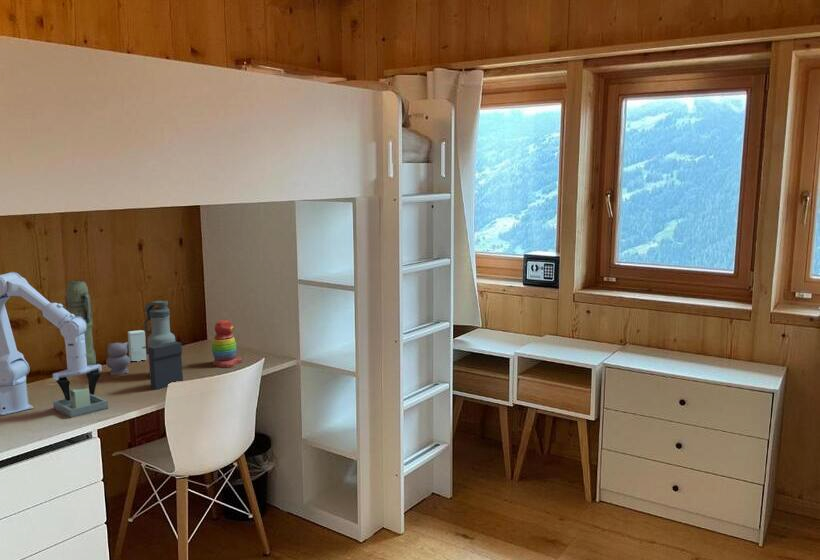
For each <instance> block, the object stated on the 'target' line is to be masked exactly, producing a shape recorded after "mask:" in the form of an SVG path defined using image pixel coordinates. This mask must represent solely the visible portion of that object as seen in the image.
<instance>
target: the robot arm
mask: <svg viewBox="0 0 820 560" xmlns="http://www.w3.org/2000/svg"><path fill="white" fill-rule="evenodd" d="M11 297H21V298H23V300H25V301H27V302H28V303H30V304H31V305H33V306H34V307H36V308H37V309H39V310H40V311H41V312H42V317H43V318H44V319H46V320H47V321H48V322H49V323H51V324H53V325H54V326H55V327H56V328H57V329H59V333H60V334H61V335H62V337H63V340H64V344H65V354H66V355H65V356H66V367H67V368H66V369H64V370H62V371H61V370H60V371H58V372H54V373H53V372H52V380H54V381H55V382H56V383H57V385H59V386H58V387H60V389H61V391H62V393H63V395H64V399H65V400H67V401H68V400H70V392H69V389H70V384H71V383H70V382H71V381H70V380H68V378H71V377H76V376H80V375H85V374H86V376H87V382H88V388H89V393H90V394H92V395H95V393H96V392H95V391H96V387H97V383H98V380H99V378H100V377H101V372H102V370H103V369H102V368H103V367H102V364H100V363H97V364H96V365H89V366H87V358H86V346H85V335H84V332H85V331H86V330H87V323H86V321H85V320H84V319H83V318H82V317H75V315H74V314H71V313H69V312H68V311H67V309H66V308H65V307H64V305H63V304H62V303H57V302H50V301H49V300H48V299H47V298H45V297H44V296H43V295H42V294H41V293H39V291H37V289H35V288H34V287H33V286H32V285H31V284H30V283H29V282H28V281H27V279H26V278H25V277H24V276H21V275H20V274H19V273H17V272H15V271H10V272H8V273H3V274H0V416H4V415H5V416H6V415H10V414H13V413H17V412H22V411H27V410H30V409H34V406H33V405H31V404H29V397H28V388H27V387H28V386H27V376H28V375H29V373H30V371H31V370H30V365H29V363H28V361H27V360H26V359H25V356H24V353H22V352H20V351H19V350H18V349H17V344H16V341H15V337H14V334H13V330H12V327H11V323H10V319H9V316H8V312H7V309H6V303H7V301H8V300H9V299H10V298H11Z"/></svg>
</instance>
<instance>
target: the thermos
mask: <svg viewBox="0 0 820 560" xmlns="http://www.w3.org/2000/svg"><path fill="white" fill-rule="evenodd" d="M65 288H66V289H65V297H64V298H65V300H64V301H65V309H66V310H67V311H68V312H69V313H71V314H74V315H75V317H82V318H83V319H84V320H85V321H86V323H87V330H86V331H85V332H84V335H85V346H86V358H87V366H89V365H96V363H97V357H96V351H95V349H94V340H93V339H94V338H93V328H92V327H93V313H92V303H91V302H92V300H91V296H90V294H89V288H88V286H87V284H86V281H84V280H81V279H80V280H79V279H78V280H71V281H69V282H67V285H66V287H65Z"/></svg>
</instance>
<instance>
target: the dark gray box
mask: <svg viewBox="0 0 820 560" xmlns="http://www.w3.org/2000/svg"><path fill="white" fill-rule="evenodd" d="M182 345H183V344H182V342H179V341H176V340H175V342H170V343H165V344H160V345H156V346H151V347H149V348H148V347H147V352H148V351H149V354H148V365H149V364H150V368H149V377H150V387H151V389H153V390H160V389H164V388H168V387H167V385H168V384H169V383H171V382H176V381H183V382H184V377H183V376H184V375H183V374H184V373H183V363H182V359H183V358H182V354H183V348H182V347H183V346H182Z"/></svg>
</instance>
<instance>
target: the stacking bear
mask: <svg viewBox="0 0 820 560" xmlns="http://www.w3.org/2000/svg"><path fill="white" fill-rule="evenodd" d="M234 328H235V327H234V325H233V323H231V322H230V321H229V320H227V319H226V318H224V319H222V320H218V321H217V322H216V323H215V325H214V331H215V333H216V334H215V335H214V337H213V338H212V345H211V352H212V355H213V358H214V360H213V363H212V364H213V366H215V367H217V368H226V369H227V368H228V369H229V368H232V367H234V366H235V365H237V364H240V363H242V362H243V359H242V357H239V356H236V355H237V354H236V353H237V343H236V339H235V337H234V334H233V331H234Z"/></svg>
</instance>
